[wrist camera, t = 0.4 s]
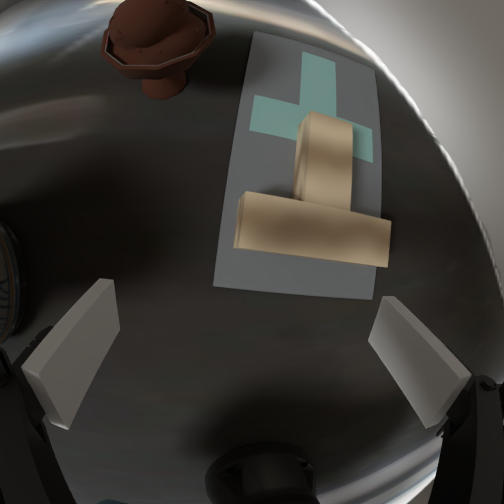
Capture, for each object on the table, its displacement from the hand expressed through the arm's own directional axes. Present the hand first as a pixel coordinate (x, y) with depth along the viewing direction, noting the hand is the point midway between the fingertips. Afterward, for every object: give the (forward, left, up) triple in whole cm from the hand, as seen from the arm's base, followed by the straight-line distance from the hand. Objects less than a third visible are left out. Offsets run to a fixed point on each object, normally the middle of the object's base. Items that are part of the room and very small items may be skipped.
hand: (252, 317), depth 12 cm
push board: (+17, -9, -16) cm, 24 cm away
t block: (+11, -9, -15) cm, 21 cm away
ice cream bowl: (+22, +10, -16) cm, 29 cm away
